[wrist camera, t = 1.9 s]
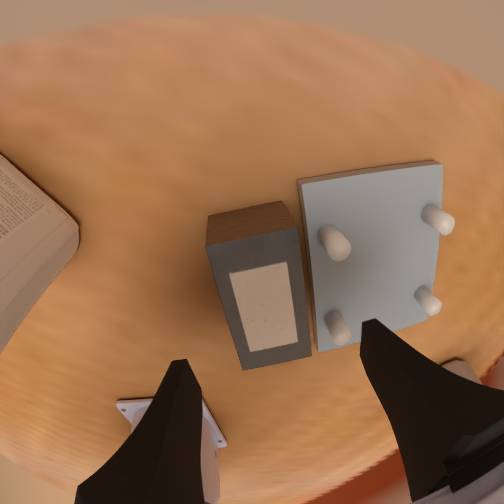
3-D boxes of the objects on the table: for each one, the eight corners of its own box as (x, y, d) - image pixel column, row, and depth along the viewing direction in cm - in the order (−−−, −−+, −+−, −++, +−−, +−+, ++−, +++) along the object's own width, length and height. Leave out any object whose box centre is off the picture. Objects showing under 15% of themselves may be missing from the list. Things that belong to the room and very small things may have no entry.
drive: (297, 314, 20) (312, 357, 17) (238, 326, 20) (243, 371, 17) (280, 199, 17) (298, 228, 13) (208, 214, 17) (205, 247, 13)
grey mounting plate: (420, 312, 21) (439, 336, 19) (315, 343, 21) (325, 373, 19) (433, 160, 16) (463, 172, 13) (297, 179, 16) (312, 195, 13)
